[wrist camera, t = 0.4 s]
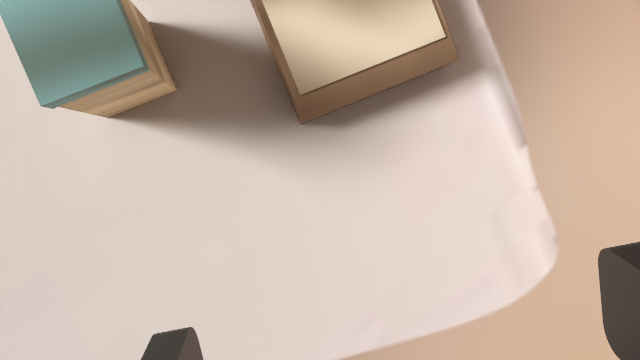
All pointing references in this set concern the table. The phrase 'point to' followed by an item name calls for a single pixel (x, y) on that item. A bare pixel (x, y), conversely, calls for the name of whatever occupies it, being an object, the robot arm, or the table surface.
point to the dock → (351, 47)
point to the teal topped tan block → (87, 54)
